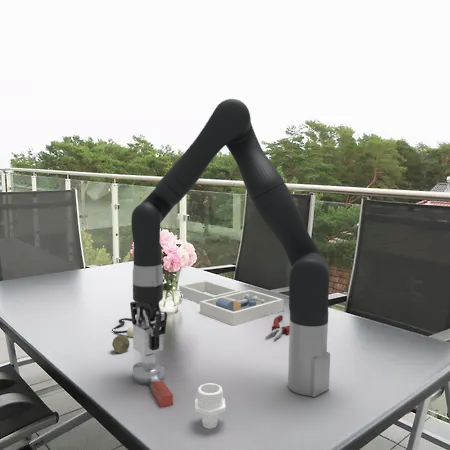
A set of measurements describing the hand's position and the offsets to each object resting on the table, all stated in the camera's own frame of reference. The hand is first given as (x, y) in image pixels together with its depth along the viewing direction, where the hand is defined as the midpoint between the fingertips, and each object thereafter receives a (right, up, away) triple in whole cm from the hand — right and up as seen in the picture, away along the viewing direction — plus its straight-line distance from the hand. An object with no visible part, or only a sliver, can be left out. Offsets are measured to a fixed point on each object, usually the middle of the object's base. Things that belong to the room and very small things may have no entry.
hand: (148, 345), depth 117 cm
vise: (+25, -3, +55) cm, 61 cm away
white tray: (+26, -2, +57) cm, 62 cm away
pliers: (+39, -5, +38) cm, 54 cm away
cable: (-12, -5, +37) cm, 40 cm away
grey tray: (+13, 0, +74) cm, 75 cm away
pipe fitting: (+17, -12, -20) cm, 29 cm away
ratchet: (+2, -9, -4) cm, 10 cm away
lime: (-11, -7, +18) cm, 22 cm away
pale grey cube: (0, -1, 0) cm, 1 cm away
